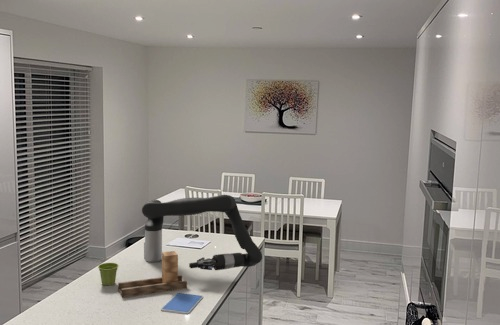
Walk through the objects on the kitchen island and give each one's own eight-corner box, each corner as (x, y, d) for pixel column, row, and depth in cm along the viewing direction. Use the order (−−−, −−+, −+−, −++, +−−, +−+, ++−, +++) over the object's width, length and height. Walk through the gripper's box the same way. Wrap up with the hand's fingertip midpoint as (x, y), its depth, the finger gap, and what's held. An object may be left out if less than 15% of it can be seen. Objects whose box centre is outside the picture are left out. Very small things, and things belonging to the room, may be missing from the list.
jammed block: (174, 281, 228) (174, 251, 227) (177, 285, 223) (177, 254, 221) (162, 282, 226) (162, 252, 224) (165, 287, 220) (165, 256, 219)
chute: (181, 281, 232) (181, 274, 232) (187, 288, 223) (187, 281, 222) (118, 289, 219) (118, 282, 219) (122, 297, 210) (121, 290, 210)
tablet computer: (177, 294, 217) (177, 291, 217) (203, 297, 214) (203, 295, 214) (160, 312, 198) (160, 309, 198) (188, 315, 195) (188, 312, 195)
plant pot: (122, 281, 230) (122, 264, 229) (110, 288, 221) (110, 270, 220) (106, 278, 233) (106, 261, 232) (94, 285, 224) (93, 267, 223)
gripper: (218, 250, 240) (185, 254, 233) (228, 258, 228) (194, 262, 221) (218, 264, 241) (185, 269, 234) (228, 273, 229) (193, 277, 222)
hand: (189, 265), depth 227 cm, fingers closed
